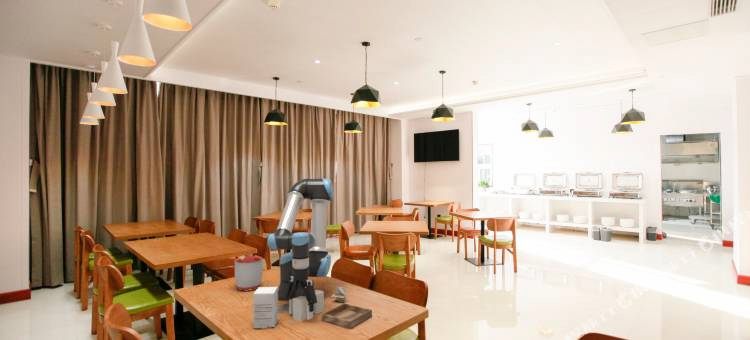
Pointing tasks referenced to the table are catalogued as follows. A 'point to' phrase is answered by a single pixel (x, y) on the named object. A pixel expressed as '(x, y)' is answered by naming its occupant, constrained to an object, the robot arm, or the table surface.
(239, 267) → the grey bucket
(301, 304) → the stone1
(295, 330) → the table surface
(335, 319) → the brown wooden tray
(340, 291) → the architectural model
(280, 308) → the trowel
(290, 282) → the robot arm
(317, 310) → the white upright block piece
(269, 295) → the supplement box
